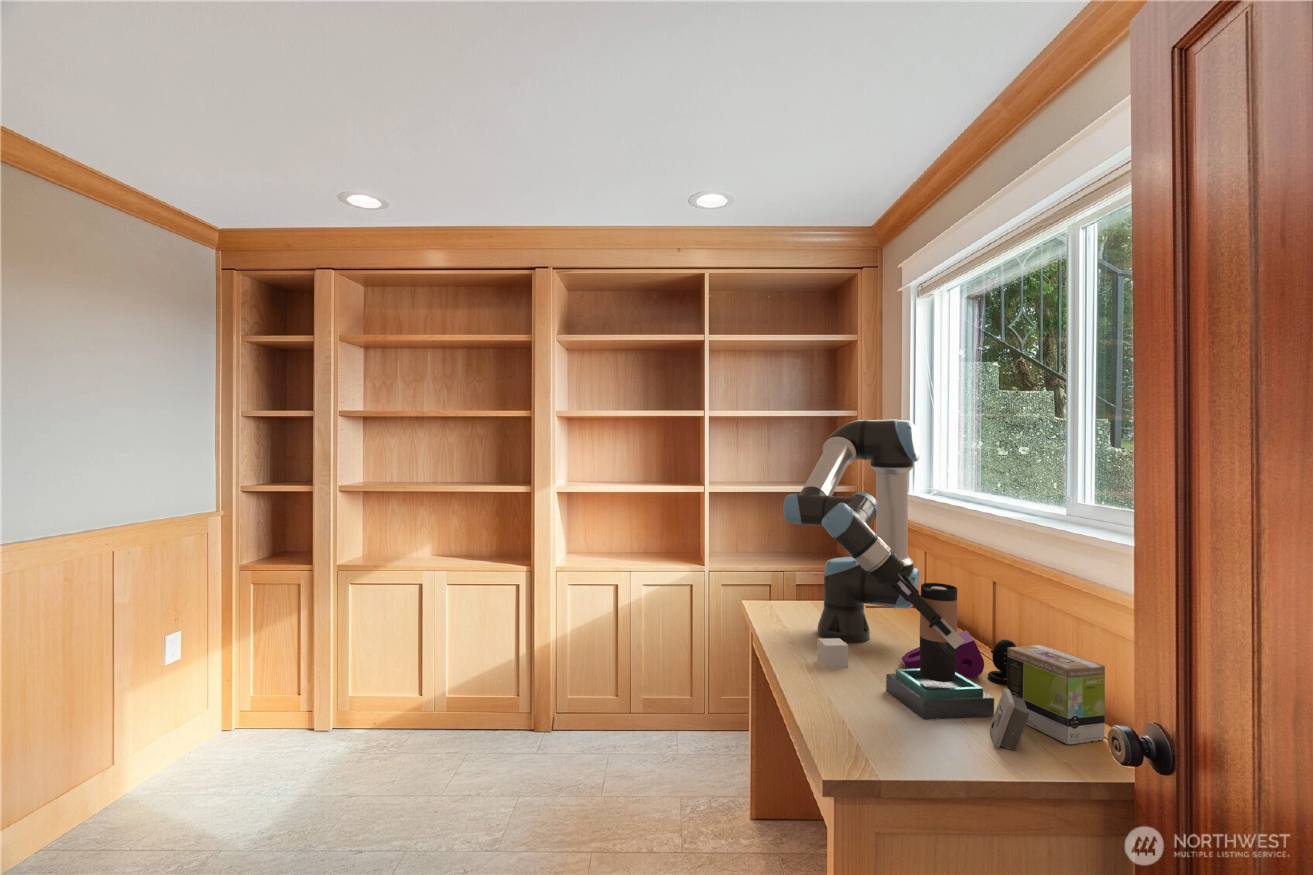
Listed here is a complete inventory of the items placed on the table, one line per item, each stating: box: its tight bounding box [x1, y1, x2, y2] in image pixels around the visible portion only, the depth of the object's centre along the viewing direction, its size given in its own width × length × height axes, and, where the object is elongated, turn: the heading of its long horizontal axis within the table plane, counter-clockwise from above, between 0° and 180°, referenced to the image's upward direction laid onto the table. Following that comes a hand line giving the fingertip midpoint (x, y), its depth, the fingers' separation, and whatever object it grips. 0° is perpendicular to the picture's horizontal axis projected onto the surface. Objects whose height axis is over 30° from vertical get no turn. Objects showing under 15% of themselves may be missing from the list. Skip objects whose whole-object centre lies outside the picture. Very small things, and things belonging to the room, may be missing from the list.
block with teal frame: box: [885, 668, 995, 721], centre depth 146 cm, size 16×16×6 cm
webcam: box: [987, 639, 1017, 686], centre depth 161 cm, size 8×8×10 cm
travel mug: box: [919, 582, 958, 682], centre depth 146 cm, size 8×8×20 cm
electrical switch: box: [989, 687, 1029, 752], centre depth 127 cm, size 9×5×9 cm, turn 158°
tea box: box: [1006, 644, 1106, 745], centre depth 135 cm, size 15×10×15 cm, turn 17°
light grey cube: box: [816, 638, 849, 670], centre depth 171 cm, size 6×6×6 cm
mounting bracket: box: [901, 629, 985, 679], centre depth 169 cm, size 9×8×18 cm
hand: (954, 639), depth 145 cm, fingers closed on travel mug, 7 cm apart
